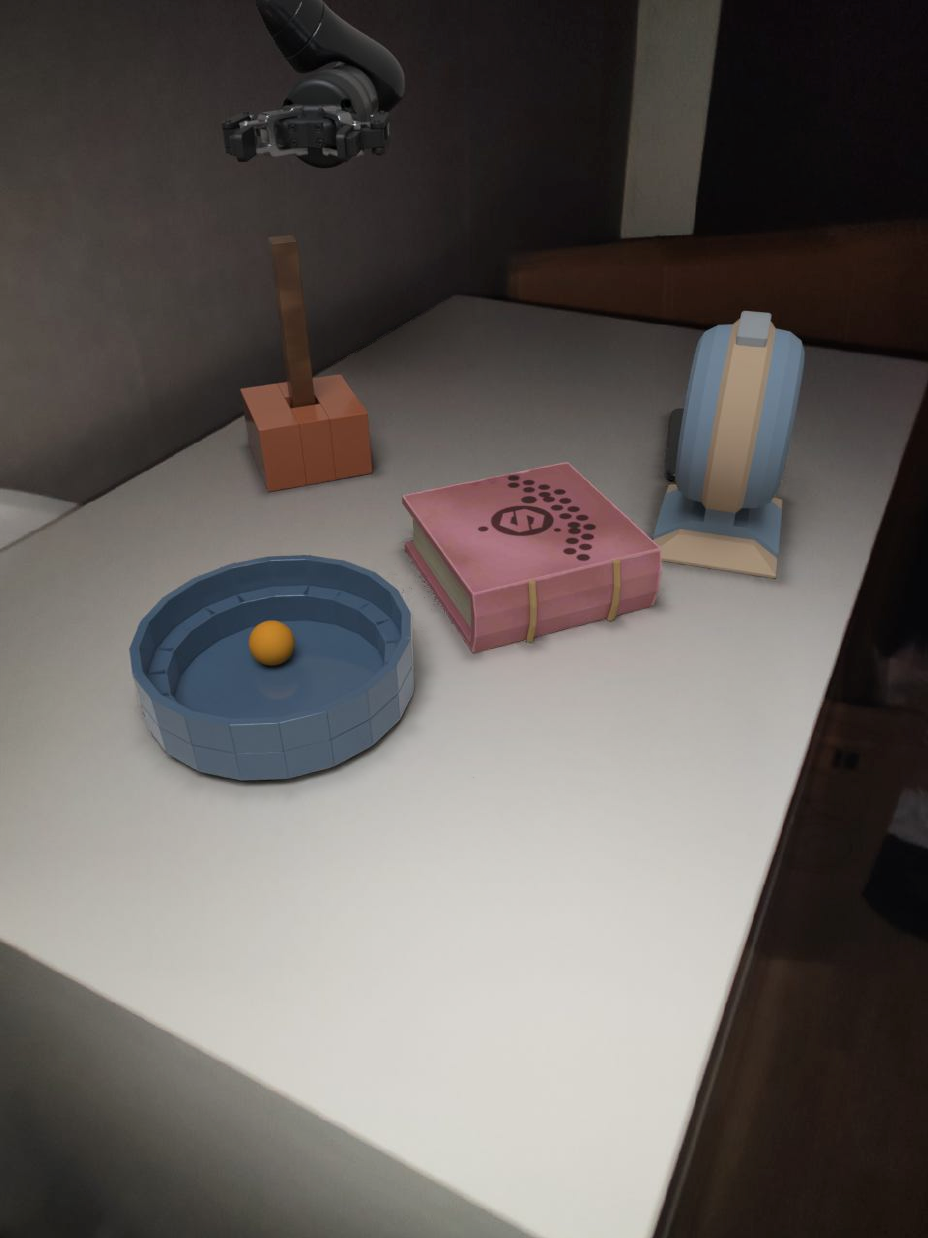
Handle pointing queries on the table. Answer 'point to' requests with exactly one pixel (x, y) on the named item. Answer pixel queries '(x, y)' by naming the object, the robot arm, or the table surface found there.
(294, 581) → the bowl
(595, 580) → the book
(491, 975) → the table surface
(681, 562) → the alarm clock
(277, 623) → the ball
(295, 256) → the stick
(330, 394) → the holder
